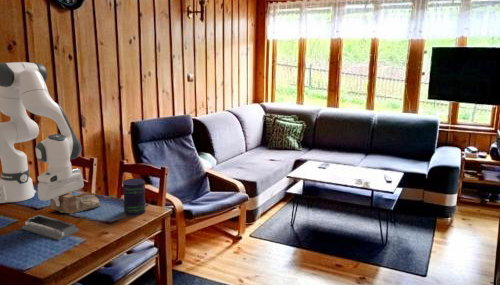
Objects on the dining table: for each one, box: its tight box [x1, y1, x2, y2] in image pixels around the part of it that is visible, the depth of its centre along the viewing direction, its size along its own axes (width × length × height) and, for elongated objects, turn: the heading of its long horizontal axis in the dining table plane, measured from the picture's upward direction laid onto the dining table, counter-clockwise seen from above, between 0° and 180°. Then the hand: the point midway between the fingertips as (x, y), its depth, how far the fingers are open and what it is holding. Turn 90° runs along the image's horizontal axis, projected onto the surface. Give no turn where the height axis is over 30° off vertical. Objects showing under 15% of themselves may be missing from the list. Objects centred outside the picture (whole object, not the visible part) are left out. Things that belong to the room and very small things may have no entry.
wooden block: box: [50, 194, 78, 215], centre depth 172 cm, size 12×4×7 cm, turn 64°
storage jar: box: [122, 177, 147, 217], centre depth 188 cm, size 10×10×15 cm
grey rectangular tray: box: [21, 214, 80, 241], centre depth 168 cm, size 22×10×3 cm, turn 64°
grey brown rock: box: [59, 194, 101, 214], centre depth 193 cm, size 14×5×20 cm
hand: (63, 204), depth 173 cm, fingers closed on wooden block, 3 cm apart
